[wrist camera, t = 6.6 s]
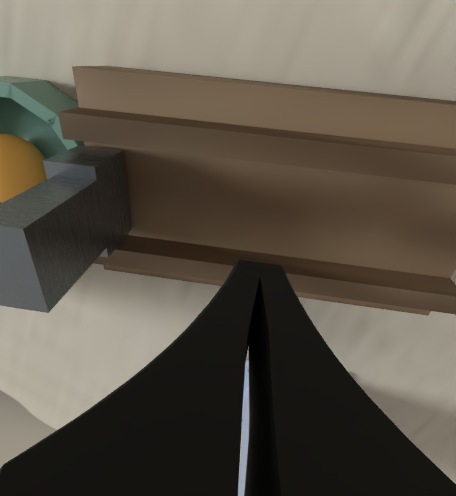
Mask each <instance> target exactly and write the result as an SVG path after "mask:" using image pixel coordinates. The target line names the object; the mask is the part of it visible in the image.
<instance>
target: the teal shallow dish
mask: <svg viewBox="0 0 456 496" xmlns="http://www.w3.org/2000/svg"><path fill="white" fill-rule="evenodd" d="M78 107H79V106H78V102H76V101H75V100H73V99H72V98H70V97H69V96H68V95H66V94H65V93H63V92H62V91H60V90H59V89H57V88H56V87H55V86H53V85H52V84H50V83H49V82H47V81H46V80H37V79H28V78H18V77H9V76H0V134H11V135H15V136H18V137H21V138H23V139H25V140H27V141H29V142H30V143H32V144H33V145H34V146H35V147H37V148H38V149H39V150H40V152H41V153H42V154H43V156H44V157H45V159H48V158H50V157H53V156H55V155H57V154H60V153H62V152H64V151H67V150H69V149H72V148H74V147H76V146H79V145H85V144H84V141H76V140H67V139H63V136H62V131H61V126H60V121H59V116H58V112H60V111H65V110H69V109H74V108H78ZM0 204H1V202H0Z"/></svg>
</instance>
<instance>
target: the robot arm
mask: <svg viewBox="0 0 456 496" xmlns="http://www.w3.org/2000/svg"><path fill="white" fill-rule="evenodd" d="M248 345H249V359H248V360H247V361H246V356H247V351H248ZM241 429H243V430H242V442H241ZM240 443H241V455H240ZM239 462H240V468H239ZM0 496H456V484H455V483H454V482H453V481H452V480H450V479H449V478H448V477H447V476H446V475H445V474H444V473H443V472H442V471H441V470H440V469H439V468H438V467H437V466H436V465H435V464H434V463H433V462H432V461H431V460H430V459H429V458H428V457H427V456H425V455H424V454H423V453H422V452H421V451H420V450H419V449H418V448H417V447H416V446H415V445H414V444H413V443H412V442H411V441H410V440H409V439H408V438H407V437H406V436H405V435H404V434H403V433H402V432H401V431H400V430H399V429H398V428H397V426H396V425H395V424H394V423H393V422H392V421H391V420H390V419H389V418H388V417H387V416H386V415H385V414H384V413H383V412H382V410H381V409H380V408H379V407H378V406H377V405H376V404H375V403H374V402H373V401H372V400H371V399H370V398H369V397H368V395H367V394H366V393H365V392H364V391H363V390H362V388H361V387H360V386H359V385H358V384H357V383H356V381H355V380H354V379H353V378H352V377H351V375H350V374H349V373H348V372H347V370H346V369H345V368H344V367H343V365H342V364H341V363H340V362H339V360H338V359H337V358H336V356H335V355H334V354H333V352H332V351H331V349H330V348H329V347H328V345H327V344H326V342H325V341H324V339H323V338H322V336H321V335H320V334H319V332H318V331H317V329H316V328H315V326H314V324H313V323H312V321H311V320H310V318H309V316H308V315H307V313H306V311H305V310H304V308H303V306H302V305H301V303H300V301H299V299H298V297H297V296H296V294H295V292H294V290H293V288H292V286H291V284H290V282H289V280H288V278H287V275H286V273H285V271H284V269H283V267H282V266H281V265H276V264H268V263H261V262H253V261H246V260H238V261H237V262H235V264H234V267H233V269H232V271H231V273H230V274H229V276H228V278H227V279H226V281H225V282H224V284H223V285H222V287H221V288H220V289H219V291H218V292H217V293H216V295H215V296H214V297H213V299H212V300H211V301H210V303H209V304H208V305H207V306H206V307H205V309H204V310H203V311H202V312H201V313H200V314H199V315H198V317H197V318H196V319H195V320H194V321H193V322H192V323H191V325H190V326H189V327H188V328H187V329H186V330H185V331H184V332H183V333H182V334H181V335H180V336H179V337H178V338H177V339H176V340H175V341H174V342H173V343H172V344H170V345H169V346H168V347H167V348H166V349H165V350H164V351H163V352H162V353H161V354H159V355H158V356H157V357H156V358H155V359H154V360H152V361H151V362H150V363H149V364H148V365H147V366H146V367H144V368H143V369H142V370H141V371H139V372H138V373H137V374H136V375H135V376H133V377H132V378H131V379H129V380H128V381H127V382H125V383H124V384H123V385H121V386H120V387H119V388H117V389H116V390H115V391H113V392H112V393H111V394H109V395H108V396H106V397H105V398H104V399H102V400H101V401H100V402H98V403H97V404H96V405H94V406H93V407H91V408H90V409H89V410H87V411H86V412H84V413H83V414H81V415H80V416H79V417H77V418H76V419H74V420H73V421H71V422H69V423H68V424H66V425H65V426H63V427H62V428H60V429H59V430H57V431H55V432H54V433H53V434H51V435H49V436H48V437H46V438H44V439H43V440H41V441H40V442H38V443H37V444H35V445H34V446H32V447H30V448H29V449H27V450H26V451H24V452H23V453H21V454H20V455H18V456H17V457H15V458H13V459H11V460H10V461H8V462H7V463H5V464H4V465H3V466H2V467H1V468H0Z"/></svg>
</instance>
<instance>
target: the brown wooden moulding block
mask: <svg viewBox="0 0 456 496" xmlns="http://www.w3.org/2000/svg"><path fill="white" fill-rule="evenodd" d="M72 68H73V75H74V81H75V87H76V94H77V100H78V106H79V107H78V108H74V109H69V110H65V111H60V112H58V116H59V121H60V126H61V131H62V136H63V139H67V140H76V141H84V144H85V146H94V147H102V148H111V149H119V150H124V159H125V169H126V180H127V190H128V201H129V211H130V222H131V231H130V232H129V233H128V234H127V236H126V237H125V238H124V239H123V240H122V242H121V243H120V244H119V245H118V246H117V248H116V249H115V250H114V251H113V252H112V253H111V255H110V256H109V257H108V258H107V257H100V256H99V257H98V258H97V259H96V260H95V261H94V262H93V263H96V264H104V269H106V270H113V271H120V272H127V273H134V274H141V275H148V276H155V277H162V278H169V279H176V280H183V281H190V282H197V283H204V284H212V285H219V286H222V285H223V284H224V282H225V281H226V279H227V278H228V276H229V274H230V273H231V271H232V269H233V267H234V264H235V262H237V261H238V260H246V261H253V262H261V263H268V264H276V265H281V266H282V267H283V269H284V271H285V273H286V275H287V278H288V280H289V282H290V284H291V286H292V288H293V290H294V292H295V294H296V296H297V297H303V298H310V299H317V300H324V301H331V302H338V303H345V304H352V305H359V306H366V307H373V308H380V309H387V310H394V311H401V312H408V313H415V314H422V315H429V313H430V312H431V311H436V312H443V313H450V314H456V285H455V284H454V283H453V281H452V280H451V279H450V277H451V275H452V274H453V272H454V270H455V268H456V101H448V100H438V99H428V98H418V97H408V96H398V95H388V94H378V93H368V92H358V91H349V90H339V89H329V88H319V87H309V86H299V85H289V84H279V83H269V82H259V81H249V80H239V79H230V78H220V77H210V76H200V75H190V74H180V73H170V72H160V71H150V70H140V69H130V68H121V67H111V66H76V67H72Z"/></svg>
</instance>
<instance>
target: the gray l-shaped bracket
mask: <svg viewBox="0 0 456 496" xmlns="http://www.w3.org/2000/svg"><path fill="white" fill-rule="evenodd" d="M43 164H44V168H45V173H46V177H47V180H45V181H43V182H42V183H40V184H38V185H36V186H34V187H32V188H30V189H28V190H26V191H24V192H22V193H20V194H18V195H16V196H14V197H12V198H11V199H9V200H7V201H5V202H3V203H1V204H0V305H1V306H8V307H14V308H21V309H27V310H34V311H40V312H47V313H49V312H50V311H51V309H52V308H53V307H54V306H55V305H56V304H57V303H58V302H59V300H60V299H61V298H62V297H63V296H64V295H65V294H66V293H67V292H68V290H69V289H70V288H71V287H72V286H73V285H74V284H75V283H76V281H77V280H78V279H79V278H80V277H81V276H82V275H83V274H84V273H85V271H86V270H87V269H88V268H89V267H90V266H91V265H92V264H93V262H94V261H95V260H96V259H97V258H98V257H99V256H100V257H107V258H108V257H109V256H110V255H111V253H112V252H113V251H114V250H115V249H116V248H117V246H118V245H119V244H120V243H121V242H122V240H123V239H124V238H125V237H126V236H127V234H128V233H129V232H130V231H131V222H130V211H129V201H128V190H127V180H126V169H125V159H124V150H119V149H111V148H102V147H94V146H85V145H79V146H76V147H74V148H72V149H69V150H67V151H64V152H62V153H60V154H57V155H55V156H53V157H50V158H48V159H46V160H43Z"/></svg>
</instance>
